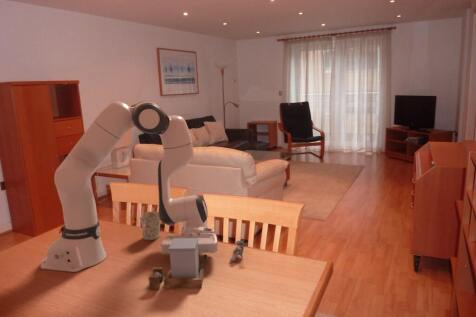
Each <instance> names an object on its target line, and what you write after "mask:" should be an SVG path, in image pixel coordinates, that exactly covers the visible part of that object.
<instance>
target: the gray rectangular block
mask: <svg viewBox="0 0 476 317" xmlns="http://www.w3.org/2000/svg"><path fill="white" fill-rule="evenodd" d="M169 252H170V253H169V262H170V267H171V275H172V278H199V274H200V269H201V267H200V260H199V258H200V257H199V253H198V238H173V240H172V243H171V245H170V247H169Z"/></svg>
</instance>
